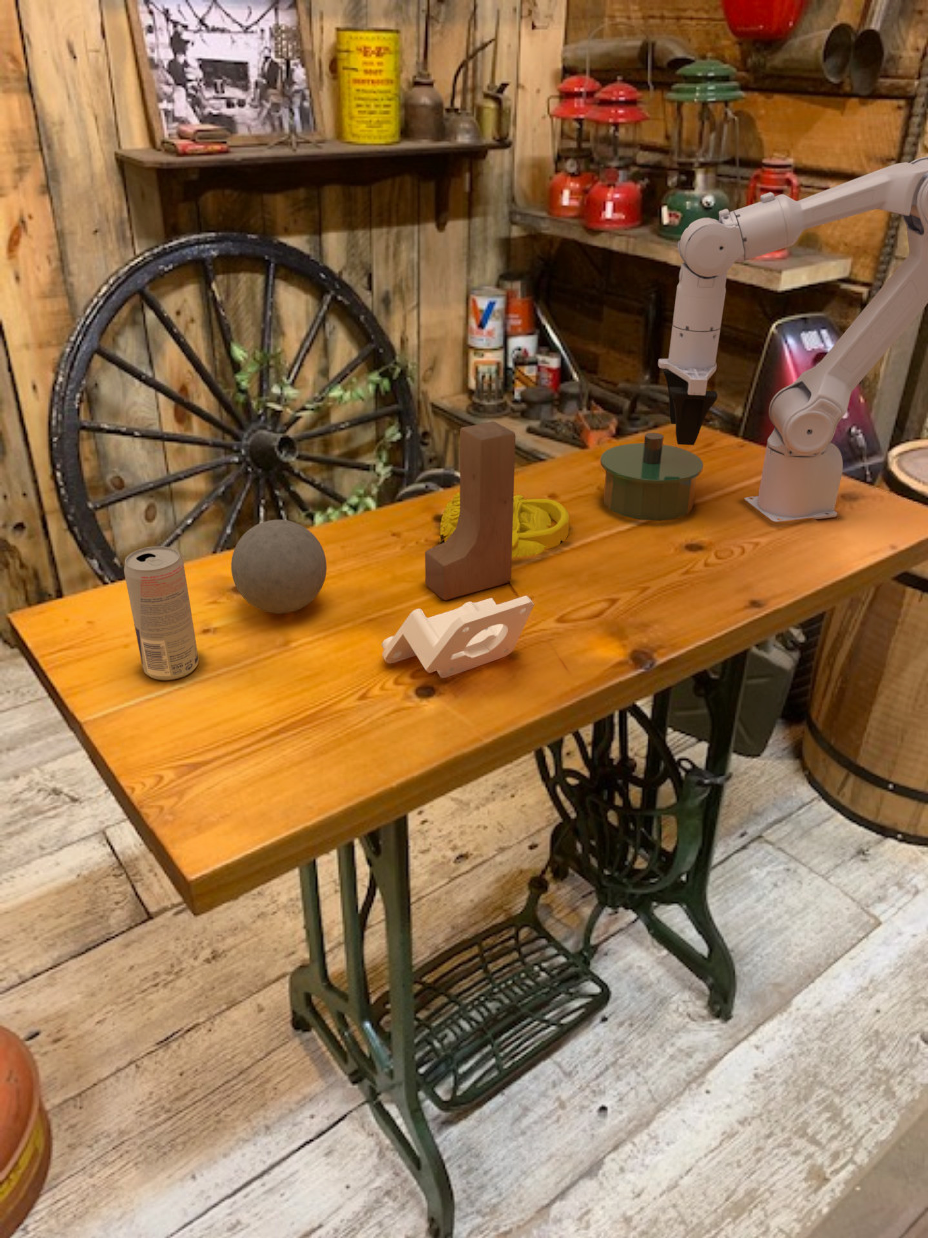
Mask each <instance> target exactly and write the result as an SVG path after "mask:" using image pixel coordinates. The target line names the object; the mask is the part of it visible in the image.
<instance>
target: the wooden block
mask: <svg viewBox="0 0 928 1238" xmlns="http://www.w3.org/2000/svg"><path fill="white" fill-rule="evenodd" d="M516 438H517V437H516V432H515V431H512V430H511V429H509V428H507V427H505V426H504V425H502V424H500V423H498V422H497V421H488V422H483V423H478V424H473V425H468V426H463V427H461V428H460V430H459V493H460V514H459V518H458V523H457V527H456V529H455V530H454V532H453V533H452V534H451V536H450V537H449V538H448V539H447V541H446V542H445V541H444V542H441V543H440V544H438V545H435V546H433V547H431V548H428V549H427V550H425V552H424V572H425V573H424V574H425V575H424V576H425V581H424V582H425V585H426V587H427V588H429V589H430V590H431V591H432V592H433V593H434V594H436V595H437V596H438V597H439V598H440V599H441V600H443V601H449V600H452V599H455V598H459V597H462V596H466V595H470V594H473V593H476V592H480V591H483V590H487V589H491V588H493V587H497V586H502V585H505V584H509V583H510V582H511V581H510V580H511V579H512V561H513V558H512V530H513V498H514V496H515V495H514V493H515V492H514V491H515V465H516V464H515V463H516Z"/></svg>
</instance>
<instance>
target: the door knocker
mask: <svg viewBox="0 0 928 1238" xmlns="http://www.w3.org/2000/svg"><path fill="white" fill-rule="evenodd" d="M459 514H460V492H456V493H455V494H454V495H453V496H452V499H451V500H450V501H448V502H447V504H446V505H445V507H444V509H443V513H442V514H441V515H442V516H441V520H440V523H439V536H440V537H439V543H442V540H443V541H444V542H446V541H447V539H448V538H449V537H450V536H451V534H452V533H453V532H454V530H455V529H456V527H457V523H458V518H459ZM552 520H553V521H554V522H555V523H556V524H555V525H553V526H552ZM569 533H570V514H569V512H568V510H567V509H566V507H565V506H563V505H562V504H561V503H560V502H558V501H556V500H553V499H549V498H529V499H527V498H526V499H524V495H523V494H516V495H514V498H513V530H512V559H514V558H516V557H517V558H523V557H531V556H533V555H535V556H536V555H539V554H542V553H543V552H544V551H546V550H549V549H553V548H555V547H558V546H559V545H561V541H562V542H565V541H566V540H567V539H568V536H569Z"/></svg>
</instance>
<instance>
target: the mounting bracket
mask: <svg viewBox="0 0 928 1238" xmlns="http://www.w3.org/2000/svg"><path fill="white" fill-rule="evenodd" d="M534 606H535V603H534V601H532V599H531V597H529V596H528V595H523V596H520V597H517V598H514V599H511V600H508V601H504V602H500V603H498V604H497V602H495V600H494V598H493V597H490V598H486V599H483V600H480V601H475V602H472V601H467V602H465V603H464V604H463V605H461V606H460V607H457V608H454V609H451V610H448V611H444V612H442V613H439V614H435V615H433V616H429V617H427V616H426V615H425V613H424V611H423V610H422V609H421V608H416V609H414V610H412V611H411V612H410V613H409V615H408V616H407V617H406V619H405V620H404V622H403V623H402V625H401V626H400V627H399V628H398V630H397V631H396V633H395V634H394V635H391V636H389V637H387V638H385V639H384V640H383V641H382V643H381V647H382V649H383V651H382V653H381V657H382V658H383V660H384V661H385V663H386V664H396V663H398V662H401V661H403V660H406V659H411V658H413V657H417V659H418V660H419V662H420V664H421V666H422V667H423V668H424V670H425V671H426V672H427V673H428V674H430V673H433V672H437V674H438V675H439V677H440V678H441V679H446V678H450V677H451V676H454V675H458V674H461V673H463V672H466V671H468V670H471V669H474V668H477V667H480V666H482V665H486V664H488V663H491V662H494V661H497V660H499V659H503V658H505V657H508V655H510V654H511V653H512V652H513V651H514V650H515V648H516V646H517V643H518V641H519V639H520V637H521V634H522V632H523V630H524V628H525V626H526V623H527V621H528V619H529V617H530V615H531V613H532V610H533V608H534Z"/></svg>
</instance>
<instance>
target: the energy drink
mask: <svg viewBox="0 0 928 1238" xmlns="http://www.w3.org/2000/svg"><path fill="white" fill-rule="evenodd" d="M123 573H124V578H125V583H126V589H127V594H128V599H129V605H130V610H131V615H132V619H133V624H134V630H135V636H136V641H137V646H138V651H139V657H140V661H141V667H142V671H143V672H144V674H145V675H147V676H148V677H150V678H151V679H154V680H157V681H173V680H178V679H182V678H184V677H186V676H188V675H190V674H191V673H192V672H194V670H196V668H197V667H198V665H199V661H200V659H199V658H200V657H199V653H198V652H199V651H198V646H197V639H196V633H195V627H194V620H193V614H192V608H191V601H190V595H189V588H188V583H187V576H186V569H185V562H184V560H183V558H182V557H181V554H180V552H179V551H178V550H177V549H176V548H172V547H169V546H162V545H161V546H160V545H158V546H157V545H156V546H148V547H144V548H140V549H137V550H135V551H133V552H131V553H129V554H128V555H127V556H126V557H125V559H124V567H123Z"/></svg>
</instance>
